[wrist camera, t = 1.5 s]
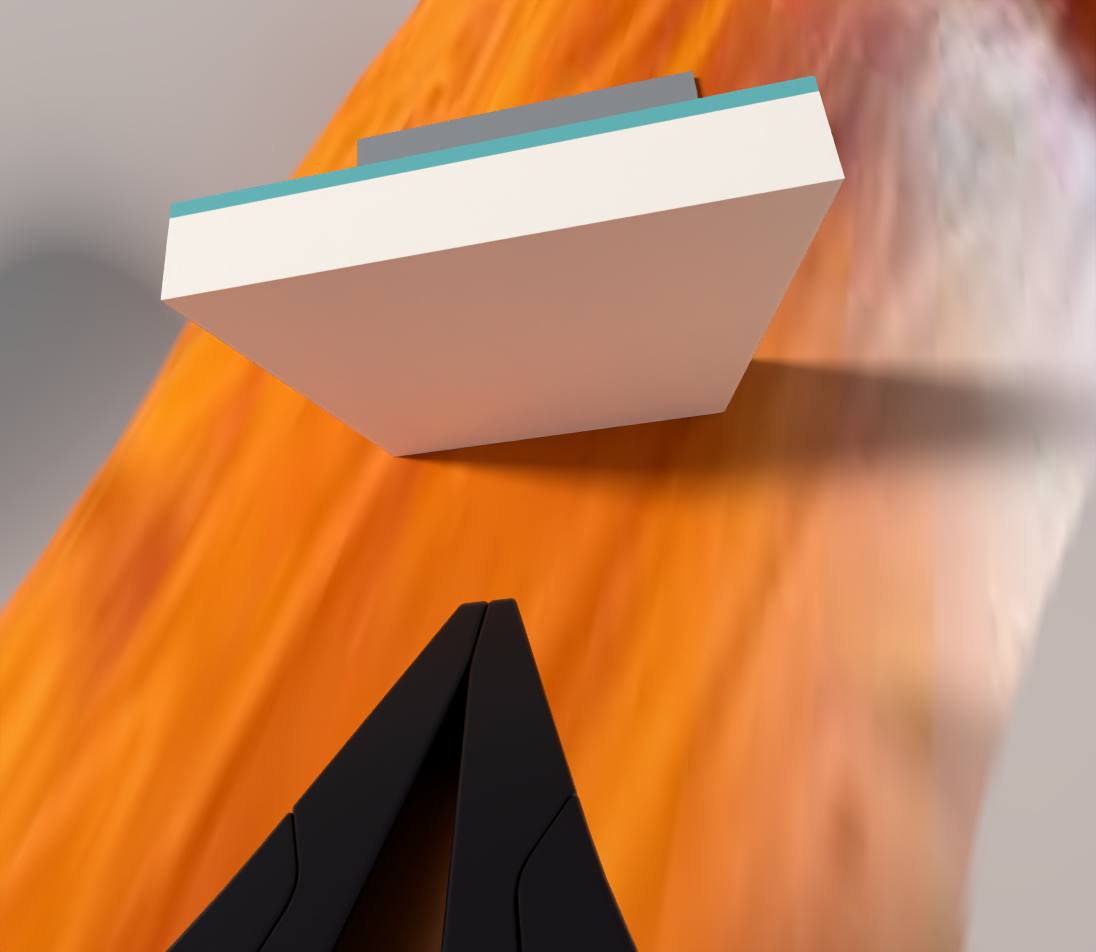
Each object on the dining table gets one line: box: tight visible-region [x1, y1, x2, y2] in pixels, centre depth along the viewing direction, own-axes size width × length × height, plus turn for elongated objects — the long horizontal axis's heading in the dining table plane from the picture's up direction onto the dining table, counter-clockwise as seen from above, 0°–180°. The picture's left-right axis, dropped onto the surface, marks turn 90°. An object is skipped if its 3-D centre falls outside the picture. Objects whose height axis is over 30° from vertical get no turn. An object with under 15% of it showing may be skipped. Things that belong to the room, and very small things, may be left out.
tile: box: [161, 76, 845, 457], centre depth 17 cm, size 2×14×12 cm, turn 95°
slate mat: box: [357, 71, 698, 167], centre depth 24 cm, size 14×17×1 cm
